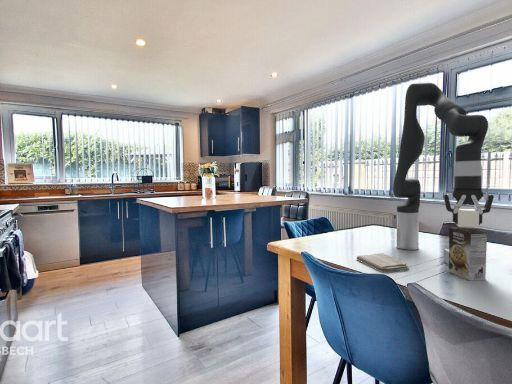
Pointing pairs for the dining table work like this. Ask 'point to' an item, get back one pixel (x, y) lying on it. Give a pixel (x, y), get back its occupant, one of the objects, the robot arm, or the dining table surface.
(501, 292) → the dining table surface
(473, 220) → the cream cube
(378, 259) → the washcloth
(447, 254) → the slate block
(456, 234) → the coffee box
